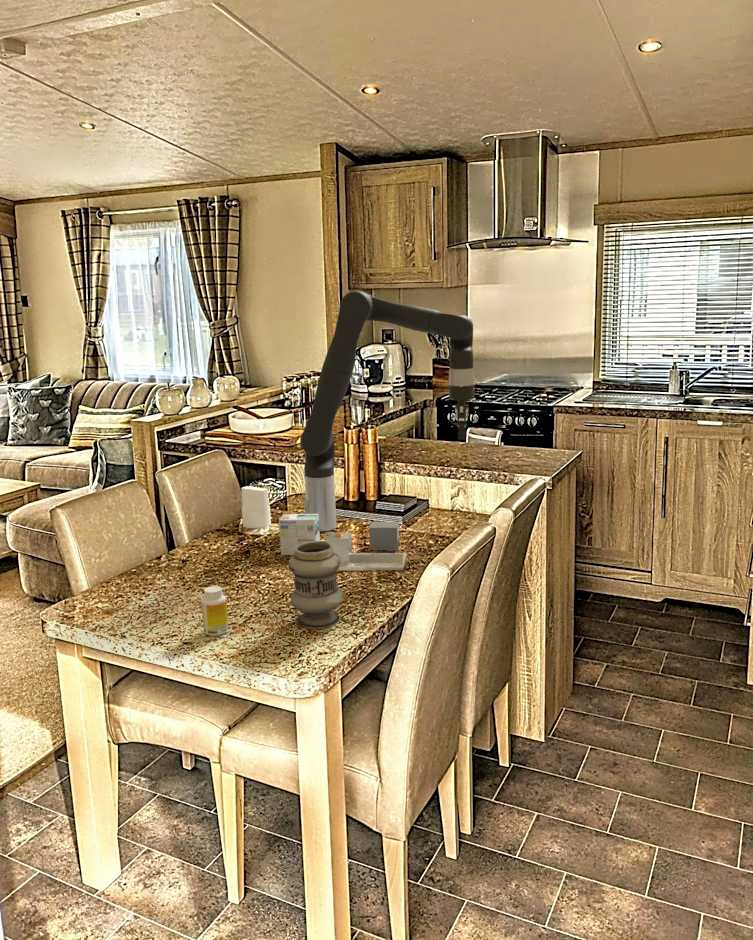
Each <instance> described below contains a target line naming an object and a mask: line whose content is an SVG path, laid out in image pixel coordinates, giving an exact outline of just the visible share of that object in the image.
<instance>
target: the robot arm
mask: <svg viewBox="0 0 753 940" xmlns="http://www.w3.org/2000/svg"><path fill="white" fill-rule="evenodd" d="M367 321H370V322H371V321H372V322H382V323H388V324H392V325H395V326H398V327H402V328H404V329H409V330H412V331H415V332H416V331H417V332H421V333H424V334H425V333H426V334H430V335H431V334H433V335H438V336H442V337H444V338H448V339H450V340H449V342H450V351H449V372H448V399H450V400H452V401H457V404H455V405H454V410H455V411H454V412H455V420H456V421H457V423H456V426H457V439H458V440H460V441H461V440H463V441H464V440H466V436H467V435H466V432H467V431H466V428H467V421H468V413H469V404H467V401H470V400H474V399H475V373H474V352H473V346H474V345H473V343H474V323H473V321H472V319H471V318H470V317H469V316H467V315H465V314H459V315H458V314H452V313H447V312H442V311H440V310H437V309H432V308H427V307H422V306H417V305H410V304H403V303H396V302H393V301H388V300H385V299H382V298H379V297H377V296H373V295H371V294H368V293H367V292H365V291H363V290H352V291H349V292H347V293H346V294H344V296H343V297H342V299H341V301H340V304H339V308H338V315H337V321H336V326H335V330H334V334H333V337H332V340H331V342H330V344H329V347H328V350H327V353H326V356H325V358H324V361H323V363H322V367H321V371H320V373H319V379H318V382H317V386H316V391H315V394H314V400H313V404H312V409H311V412H310V415H309V416H308V420H307V422H306V424H305V427H304V429H303V431H302V434H301V436H300V444H301V447H302V449H303V451H304V453H305V461H304V466H303V467H304V468H303V471H304V473H303V475H304V488H305V489H304V490H305V500H304V501H303V503H304V514H318V517H319V532H329V531H333V530H335V529H336V528H337V511H336V510H337V509H336V489H335V485H336V484H335V463H336V462H335V461H336V460H335V459H336V457H335V436H334V433H333V426H334V423H335V417H336V415H337V413H338V410H339V408H340V406H341V405H342V402H343V400H344V399H345V395H346V393H347V391H348V388H349V385H350V383H351V379H352V378H353V377H352V376H353V373H354V368H355V365H356V364H355V363H356V358H357V356H356V355H357V348H358V343H359V339H360V335H361V333H362V331H363V327H364V325H365V323H366V322H367Z"/></svg>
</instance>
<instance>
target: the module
mask: <svg viewBox="0 0 753 940" xmlns="http://www.w3.org/2000/svg"><path fill="white" fill-rule="evenodd" d="M399 523H400V522H399V521H371V522H370V524H369V526H368V533H369V535H368V536H369V551H370V550H398V551H399V546H400V524H399ZM398 545H399V546H398Z"/></svg>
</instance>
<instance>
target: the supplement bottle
mask: <svg viewBox="0 0 753 940" xmlns="http://www.w3.org/2000/svg"><path fill="white" fill-rule="evenodd" d="M203 595H204V596H203V597H202V598H201V600H200V602H201V603H200V604H201V615H202V625H203V632H204V634H205V635H206V636H210V637H217V636H218V637H219V636H223V635H224V634H226V633H228V632H229V629H230V627H229V615H228V613H229V612H228V603H227V596H226V595H225V594H223V588H222V587H221V586H218V585H213V586H207V587H205V588H204V590H203Z"/></svg>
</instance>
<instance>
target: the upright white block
mask: <svg viewBox="0 0 753 940" xmlns="http://www.w3.org/2000/svg"><path fill="white" fill-rule="evenodd" d="M241 498H242V499H241V501H242V502H241V503H242V506H241V514H242V515H241V516H242V517H241V518H242V526H243V527H244V528H245V529H263V528H267V527H269V526H271V524H272V520H271V519H272V518H271V506H270V503H269V500H270V499H269V489H268V488H264V487H259V486H258V487H256V486H248V485H246V486H243V487H241ZM266 526H267V527H266Z"/></svg>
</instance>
